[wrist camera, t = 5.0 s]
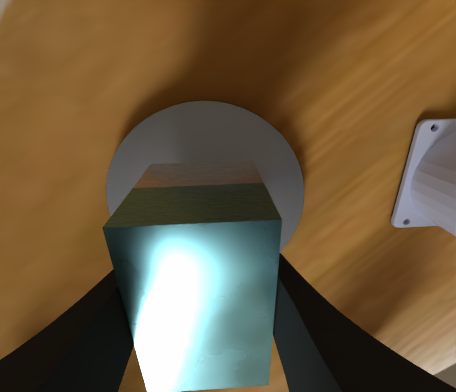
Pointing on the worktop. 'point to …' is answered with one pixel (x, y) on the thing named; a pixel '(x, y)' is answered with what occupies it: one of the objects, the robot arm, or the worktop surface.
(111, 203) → the slate stand
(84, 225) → the worktop surface
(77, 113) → the worktop surface
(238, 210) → the block
